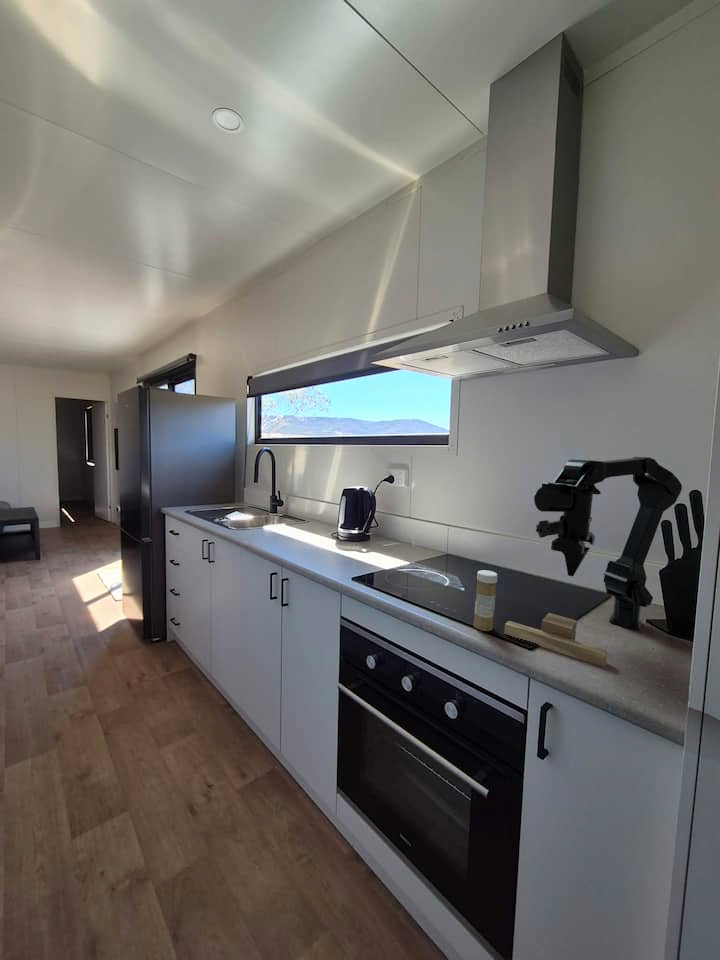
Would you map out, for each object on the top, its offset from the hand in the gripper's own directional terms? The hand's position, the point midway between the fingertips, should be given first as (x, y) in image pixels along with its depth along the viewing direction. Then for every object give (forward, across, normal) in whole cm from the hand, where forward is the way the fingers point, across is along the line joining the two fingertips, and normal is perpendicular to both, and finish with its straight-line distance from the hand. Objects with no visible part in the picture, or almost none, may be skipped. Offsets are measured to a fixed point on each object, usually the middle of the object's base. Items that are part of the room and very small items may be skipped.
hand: (570, 575), depth 97 cm
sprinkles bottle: (+13, +15, -15) cm, 25 cm away
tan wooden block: (+13, +10, 0) cm, 16 cm away
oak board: (+13, +14, 0) cm, 19 cm away
